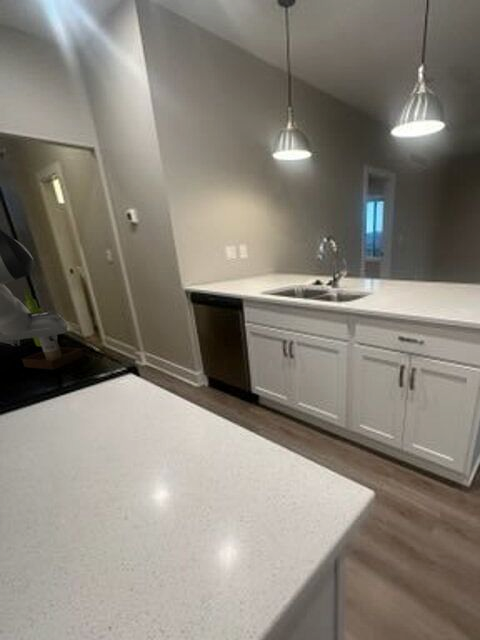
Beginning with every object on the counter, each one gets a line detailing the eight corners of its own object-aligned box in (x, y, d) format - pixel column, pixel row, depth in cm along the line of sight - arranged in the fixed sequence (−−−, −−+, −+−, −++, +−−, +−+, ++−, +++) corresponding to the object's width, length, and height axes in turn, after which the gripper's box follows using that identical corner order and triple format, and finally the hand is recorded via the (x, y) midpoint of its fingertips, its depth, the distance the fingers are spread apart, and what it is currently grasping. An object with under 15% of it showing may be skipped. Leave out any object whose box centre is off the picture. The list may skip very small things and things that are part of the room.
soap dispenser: (36, 348, 125) (16, 293, 117) (35, 344, 130) (15, 291, 122) (55, 344, 128) (37, 290, 121) (53, 340, 133) (35, 288, 126)
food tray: (24, 367, 108) (21, 359, 107) (56, 354, 118) (54, 346, 117) (54, 369, 105) (51, 361, 104) (84, 356, 115) (82, 348, 114)
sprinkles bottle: (65, 355, 114) (51, 316, 108) (59, 360, 109) (45, 320, 104) (49, 357, 113) (35, 318, 107) (43, 362, 109) (28, 321, 103)
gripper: (55, 301, 92) (75, 326, 104) (-38, 311, 86) (-5, 337, 99) (55, 321, 90) (76, 345, 102) (-41, 333, 84) (-6, 356, 96)
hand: (36, 341), depth 100 cm, fingers open, 8 cm apart
